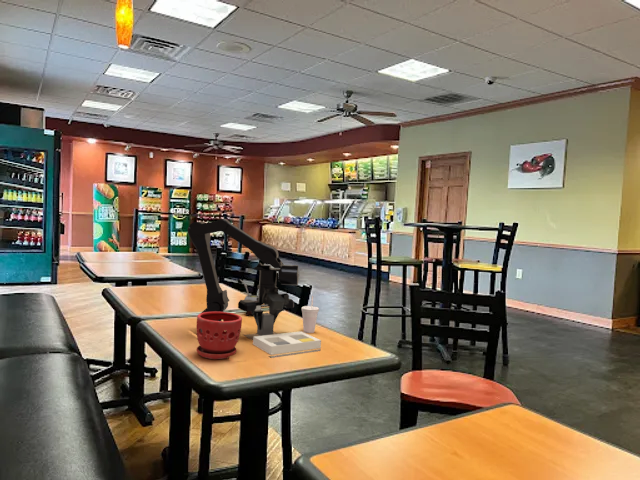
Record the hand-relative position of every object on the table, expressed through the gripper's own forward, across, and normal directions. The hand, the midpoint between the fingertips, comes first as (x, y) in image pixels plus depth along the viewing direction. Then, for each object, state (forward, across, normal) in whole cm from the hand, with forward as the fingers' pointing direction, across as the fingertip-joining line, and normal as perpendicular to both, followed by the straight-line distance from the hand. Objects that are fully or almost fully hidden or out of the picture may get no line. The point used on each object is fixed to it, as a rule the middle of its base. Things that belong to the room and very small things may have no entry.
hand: (265, 329), depth 161 cm
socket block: (+4, +1, -13) cm, 14 cm away
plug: (+2, 0, 0) cm, 2 cm away
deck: (+4, 0, 0) cm, 4 cm away
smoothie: (+4, +18, 0) cm, 18 cm away
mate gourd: (+4, +12, +35) cm, 37 cm away
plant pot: (+4, -21, -10) cm, 24 cm away
